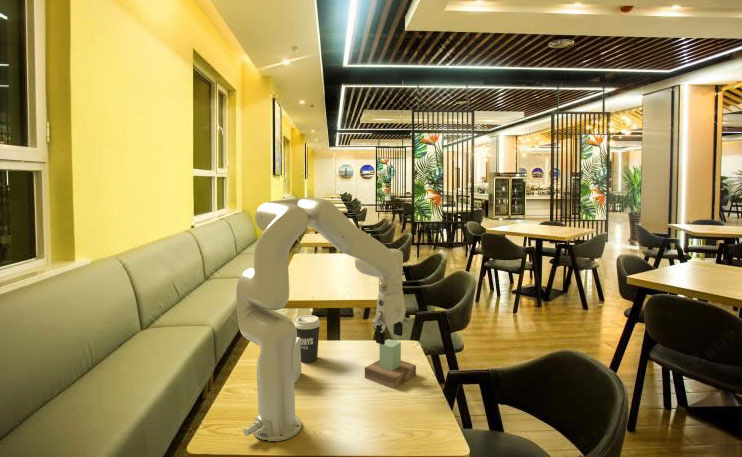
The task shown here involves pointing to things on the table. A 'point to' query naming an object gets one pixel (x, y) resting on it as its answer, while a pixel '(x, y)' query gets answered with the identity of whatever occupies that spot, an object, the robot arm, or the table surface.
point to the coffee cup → (308, 337)
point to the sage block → (390, 355)
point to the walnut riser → (390, 374)
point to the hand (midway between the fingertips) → (389, 339)
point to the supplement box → (297, 360)
